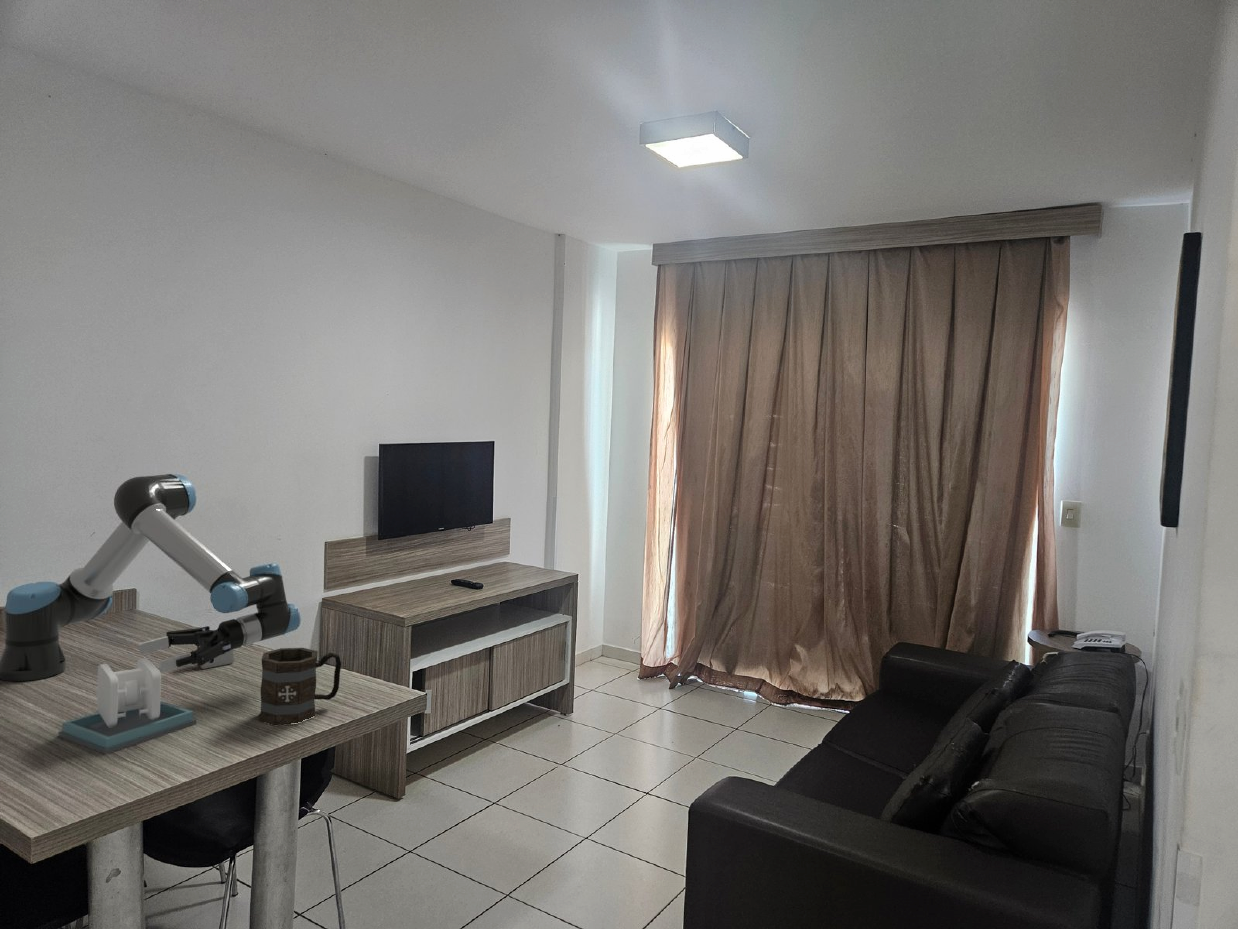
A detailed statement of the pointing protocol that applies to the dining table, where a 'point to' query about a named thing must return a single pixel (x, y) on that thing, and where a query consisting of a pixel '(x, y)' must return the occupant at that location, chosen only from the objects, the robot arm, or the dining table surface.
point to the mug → (292, 684)
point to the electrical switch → (220, 660)
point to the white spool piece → (128, 691)
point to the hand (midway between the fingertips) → (149, 658)
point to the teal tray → (125, 728)
